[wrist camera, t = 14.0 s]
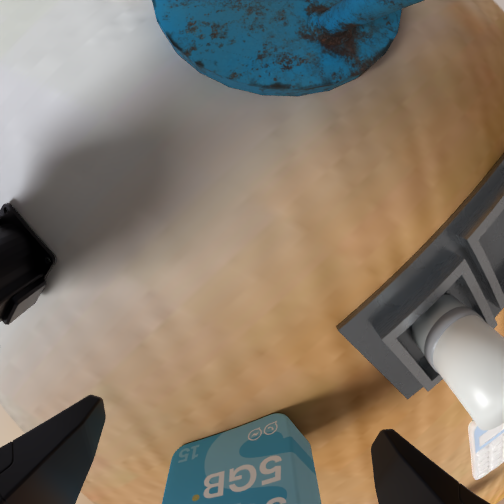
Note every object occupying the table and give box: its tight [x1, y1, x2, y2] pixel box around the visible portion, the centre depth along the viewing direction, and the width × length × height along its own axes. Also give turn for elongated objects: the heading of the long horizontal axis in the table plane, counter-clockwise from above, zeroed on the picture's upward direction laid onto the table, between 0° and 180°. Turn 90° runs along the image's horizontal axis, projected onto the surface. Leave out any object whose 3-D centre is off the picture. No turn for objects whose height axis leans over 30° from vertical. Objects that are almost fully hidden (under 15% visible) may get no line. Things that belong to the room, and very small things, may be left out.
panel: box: [336, 154, 504, 399], centre depth 20 cm, size 11×21×2 cm, turn 135°
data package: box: [162, 413, 321, 504], centre depth 20 cm, size 12×4×12 cm, turn 120°
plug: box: [412, 295, 504, 431], centre depth 16 cm, size 5×5×12 cm
